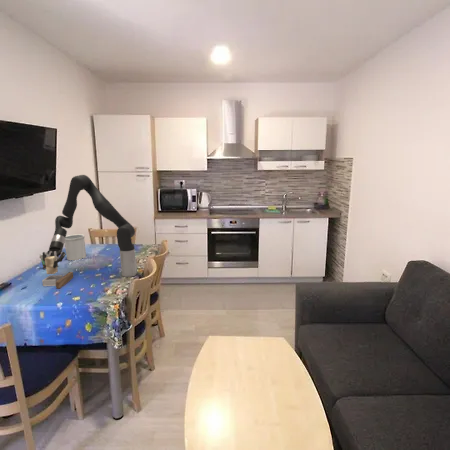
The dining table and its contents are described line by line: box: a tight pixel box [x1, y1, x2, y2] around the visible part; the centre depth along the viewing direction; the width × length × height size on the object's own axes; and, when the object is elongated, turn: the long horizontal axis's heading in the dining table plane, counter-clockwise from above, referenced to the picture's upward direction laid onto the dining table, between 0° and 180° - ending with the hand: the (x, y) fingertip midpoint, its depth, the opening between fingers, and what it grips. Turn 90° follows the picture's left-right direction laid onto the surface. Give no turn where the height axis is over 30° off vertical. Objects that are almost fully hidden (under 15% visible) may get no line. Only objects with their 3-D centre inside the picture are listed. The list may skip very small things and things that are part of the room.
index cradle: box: [41, 274, 63, 287], centre depth 198 cm, size 8×8×4 cm
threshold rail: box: [55, 271, 74, 290], centre depth 198 cm, size 2×18×4 cm, turn 1°
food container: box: [39, 254, 59, 270], centre depth 227 cm, size 12×6×10 cm, turn 105°
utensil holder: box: [64, 233, 87, 261], centre depth 248 cm, size 15×15×18 cm
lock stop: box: [45, 256, 59, 275], centre depth 196 cm, size 4×4×10 cm
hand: (50, 267), depth 194 cm, fingers closed on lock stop, 4 cm apart
